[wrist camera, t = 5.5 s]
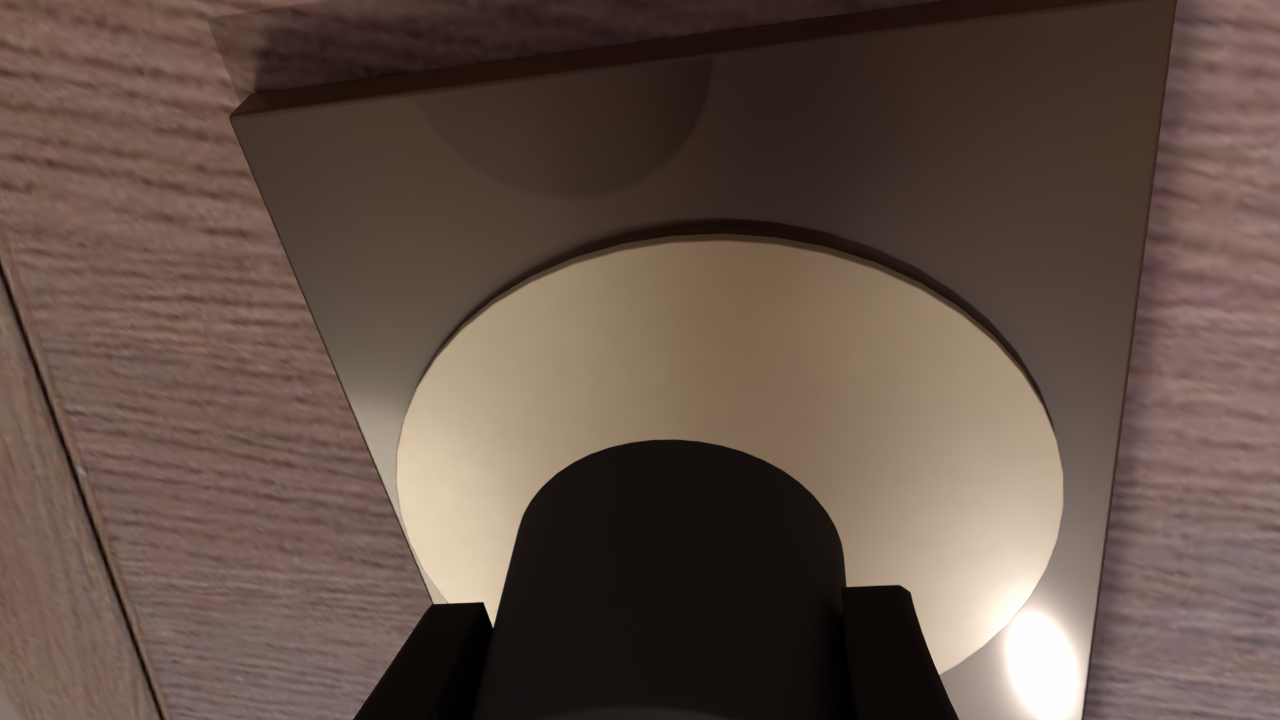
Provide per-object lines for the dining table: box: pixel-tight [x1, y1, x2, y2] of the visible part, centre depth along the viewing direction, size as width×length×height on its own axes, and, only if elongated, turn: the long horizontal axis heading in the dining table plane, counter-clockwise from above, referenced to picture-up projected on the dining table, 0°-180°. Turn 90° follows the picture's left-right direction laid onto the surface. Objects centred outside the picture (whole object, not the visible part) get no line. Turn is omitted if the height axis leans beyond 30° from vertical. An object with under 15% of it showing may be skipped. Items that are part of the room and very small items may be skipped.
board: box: [230, 0, 1177, 720], centre depth 18 cm, size 12×16×1 cm
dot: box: [470, 439, 853, 720], centre depth 12 cm, size 4×4×4 cm
